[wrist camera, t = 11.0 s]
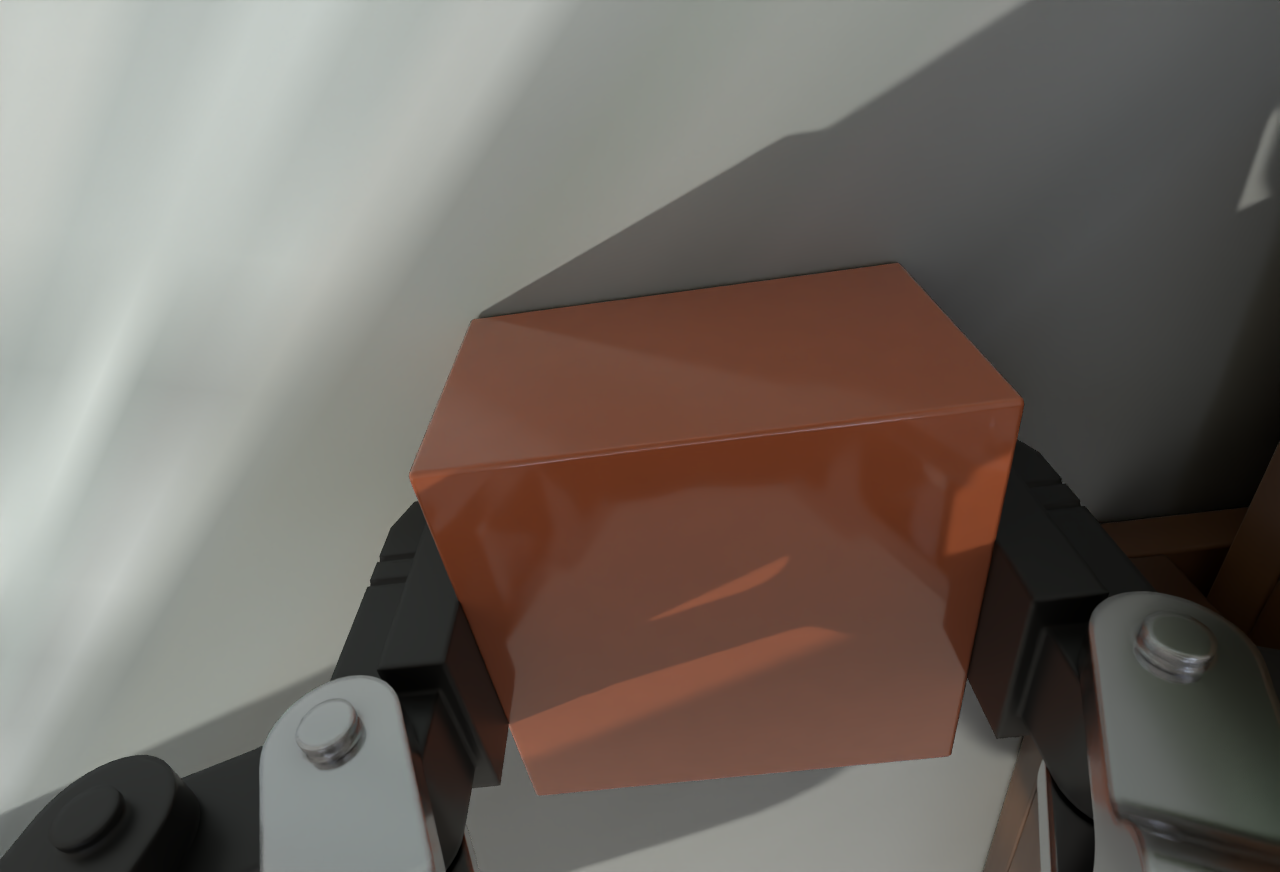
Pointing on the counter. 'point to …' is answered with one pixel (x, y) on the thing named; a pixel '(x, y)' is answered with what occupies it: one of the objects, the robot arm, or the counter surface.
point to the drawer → (1254, 566)
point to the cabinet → (1173, 564)
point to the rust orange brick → (722, 525)
